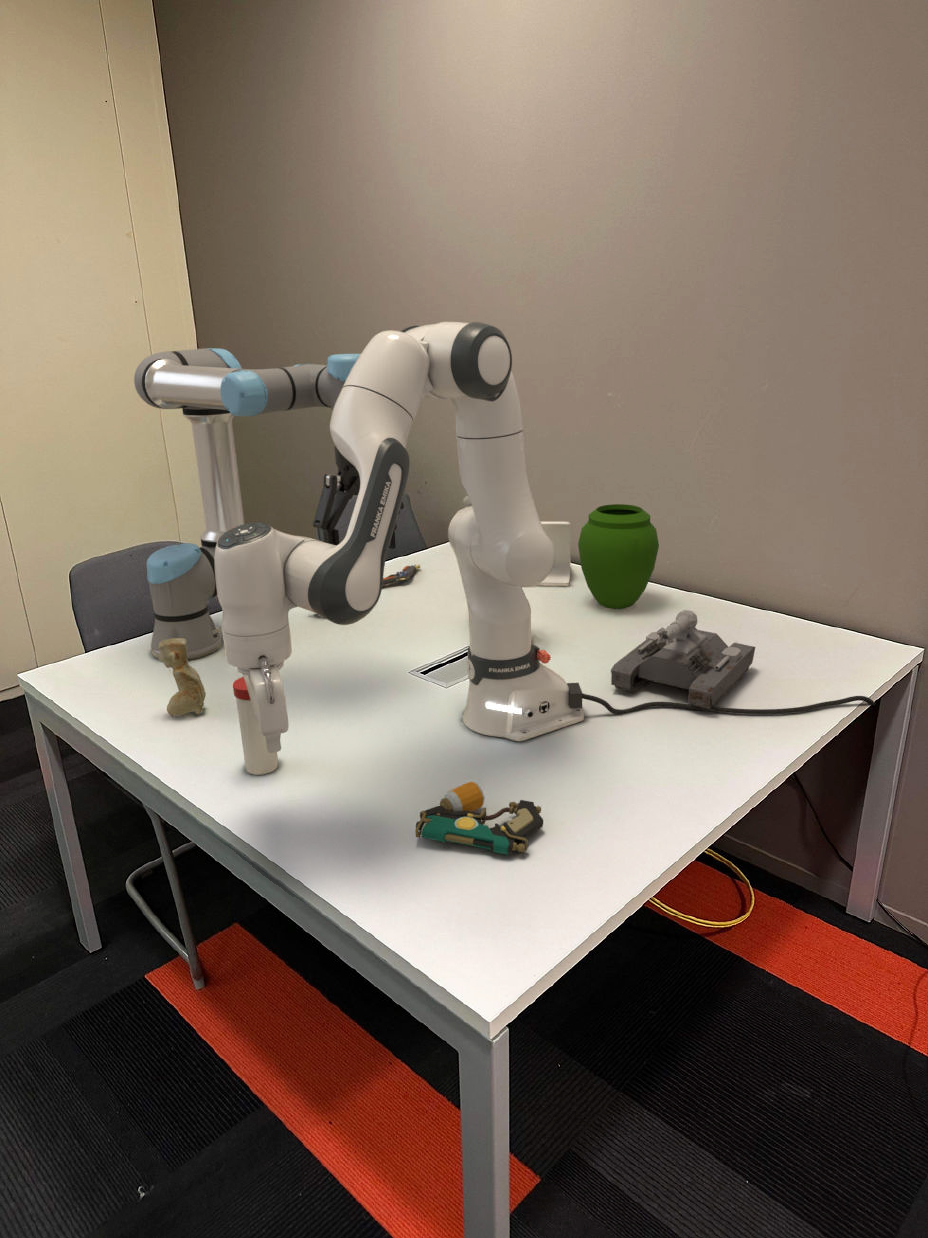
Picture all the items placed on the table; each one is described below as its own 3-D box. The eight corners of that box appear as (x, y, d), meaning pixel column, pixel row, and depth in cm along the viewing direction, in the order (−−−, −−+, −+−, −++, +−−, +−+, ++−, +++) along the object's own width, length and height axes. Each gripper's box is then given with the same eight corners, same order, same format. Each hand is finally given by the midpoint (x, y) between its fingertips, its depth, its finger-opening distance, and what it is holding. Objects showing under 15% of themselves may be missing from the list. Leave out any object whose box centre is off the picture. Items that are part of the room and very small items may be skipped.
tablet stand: (569, 585, 229) (570, 524, 223) (476, 584, 232) (475, 523, 226) (570, 566, 246) (571, 508, 240) (484, 564, 249) (483, 507, 243)
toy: (661, 649, 187) (665, 584, 181) (753, 669, 176) (760, 600, 170) (609, 692, 167) (612, 620, 162) (708, 717, 156) (715, 641, 151)
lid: (230, 700, 137) (229, 691, 136) (237, 685, 142) (236, 675, 142) (268, 699, 137) (266, 689, 136) (273, 683, 143) (272, 673, 142)
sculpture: (171, 706, 167) (160, 635, 161) (209, 704, 167) (199, 633, 162) (165, 720, 161) (153, 647, 156) (204, 717, 162) (193, 644, 157)
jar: (243, 775, 142) (231, 692, 137) (248, 759, 147) (238, 678, 142) (275, 774, 142) (265, 691, 137) (280, 757, 147) (270, 677, 142)
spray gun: (554, 825, 127) (505, 884, 116) (460, 789, 135) (404, 841, 124) (556, 801, 125) (505, 859, 114) (460, 766, 133) (404, 817, 122)
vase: (599, 587, 227) (601, 497, 218) (668, 600, 216) (673, 505, 208) (562, 608, 212) (564, 513, 204) (634, 623, 202) (639, 523, 193)
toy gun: (368, 580, 231) (404, 577, 228) (387, 564, 248) (420, 561, 246) (370, 589, 231) (405, 586, 229) (389, 573, 249) (422, 570, 247)
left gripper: (312, 454, 144) (323, 574, 152) (418, 435, 161) (423, 544, 169) (286, 450, 149) (297, 566, 157) (391, 432, 166) (397, 538, 173)
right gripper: (294, 669, 108) (304, 765, 113) (270, 617, 126) (280, 701, 131) (243, 677, 106) (256, 774, 111) (226, 623, 124) (238, 709, 129)
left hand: (363, 555), depth 163 cm, fingers open, 13 cm apart
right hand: (269, 734), depth 121 cm, fingers open, 8 cm apart
